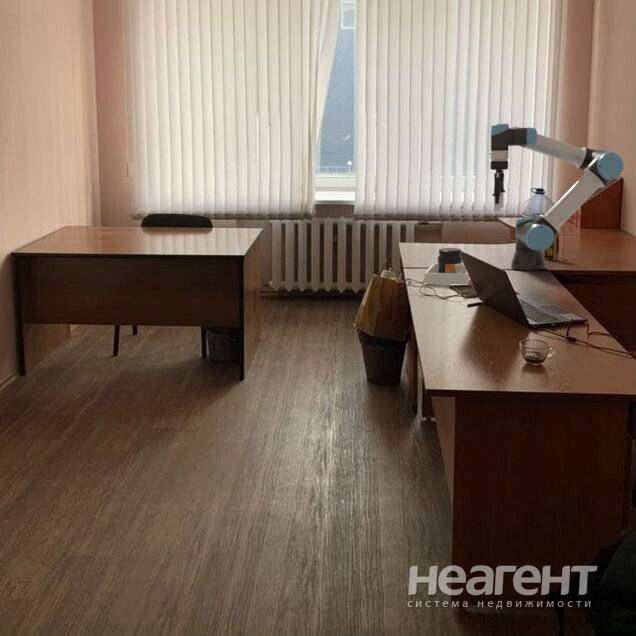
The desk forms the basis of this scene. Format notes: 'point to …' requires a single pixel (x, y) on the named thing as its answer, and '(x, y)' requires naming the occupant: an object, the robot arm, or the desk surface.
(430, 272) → the block
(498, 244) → the desk surface
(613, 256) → the desk surface
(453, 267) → the supplement container
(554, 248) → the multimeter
